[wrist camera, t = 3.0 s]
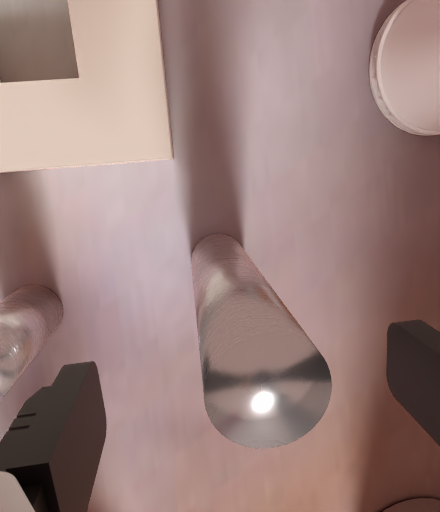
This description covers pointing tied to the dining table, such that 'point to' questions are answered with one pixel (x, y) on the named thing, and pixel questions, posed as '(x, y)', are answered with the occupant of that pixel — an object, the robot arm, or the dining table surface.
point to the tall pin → (253, 352)
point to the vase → (409, 67)
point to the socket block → (94, 96)
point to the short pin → (25, 329)
